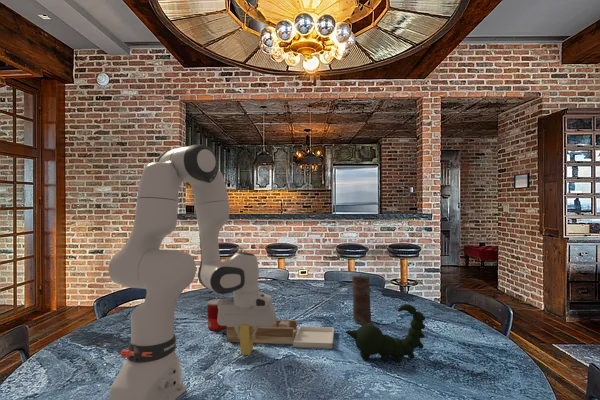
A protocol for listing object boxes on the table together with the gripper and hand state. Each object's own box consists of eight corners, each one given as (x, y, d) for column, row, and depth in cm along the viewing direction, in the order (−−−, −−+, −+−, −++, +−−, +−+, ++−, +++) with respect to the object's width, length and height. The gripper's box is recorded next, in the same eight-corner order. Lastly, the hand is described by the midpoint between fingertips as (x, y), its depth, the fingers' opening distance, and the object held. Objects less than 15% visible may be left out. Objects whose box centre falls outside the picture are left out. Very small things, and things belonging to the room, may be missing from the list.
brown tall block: (350, 323, 149) (349, 276, 149) (356, 318, 155) (355, 273, 156) (368, 326, 145) (367, 277, 146) (373, 321, 152) (372, 274, 152)
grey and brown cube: (287, 334, 131) (287, 324, 131) (278, 333, 132) (278, 323, 132) (290, 330, 135) (290, 321, 135) (281, 329, 136) (281, 320, 136)
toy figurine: (416, 357, 119) (342, 351, 120) (420, 302, 119) (347, 295, 120) (425, 370, 110) (345, 363, 111) (429, 310, 110) (349, 303, 111)
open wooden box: (293, 344, 128) (292, 329, 128) (226, 341, 131) (226, 326, 131) (296, 334, 138) (296, 319, 138) (235, 331, 141) (235, 318, 141)
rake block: (249, 354, 119) (248, 325, 120) (240, 354, 120) (240, 325, 120) (253, 348, 124) (252, 320, 124) (244, 348, 125) (244, 320, 125)
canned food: (222, 331, 142) (222, 304, 142) (204, 330, 143) (203, 303, 144) (230, 325, 149) (229, 299, 149) (212, 324, 151) (212, 298, 151)
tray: (332, 349, 123) (332, 343, 123) (293, 347, 125) (293, 341, 125) (334, 332, 139) (334, 327, 139) (299, 331, 141) (299, 326, 141)
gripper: (214, 300, 121) (214, 340, 120) (272, 301, 118) (273, 343, 118) (220, 295, 127) (221, 333, 127) (276, 296, 124) (276, 335, 124)
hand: (246, 338), depth 122 cm, fingers closed on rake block, 3 cm apart
